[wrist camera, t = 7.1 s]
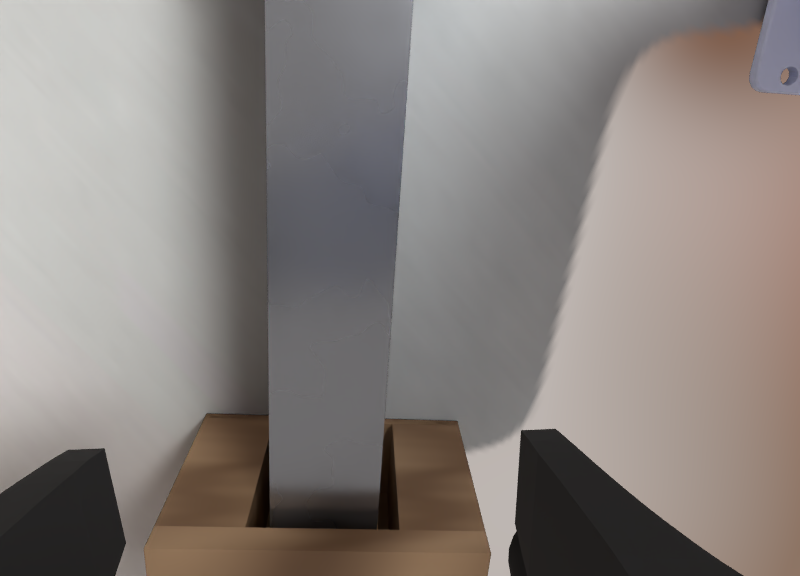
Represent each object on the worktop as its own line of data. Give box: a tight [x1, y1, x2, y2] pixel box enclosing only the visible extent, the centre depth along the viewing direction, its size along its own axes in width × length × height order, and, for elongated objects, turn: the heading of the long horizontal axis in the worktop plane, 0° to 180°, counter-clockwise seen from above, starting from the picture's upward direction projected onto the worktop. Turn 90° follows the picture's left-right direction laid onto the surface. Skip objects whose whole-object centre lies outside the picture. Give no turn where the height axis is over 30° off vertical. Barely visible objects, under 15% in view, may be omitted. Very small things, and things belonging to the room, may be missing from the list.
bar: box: [265, 0, 413, 530], centre depth 16 cm, size 3×18×5 cm, turn 176°
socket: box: [144, 414, 491, 576], centre depth 19 cm, size 9×4×6 cm, turn 86°
